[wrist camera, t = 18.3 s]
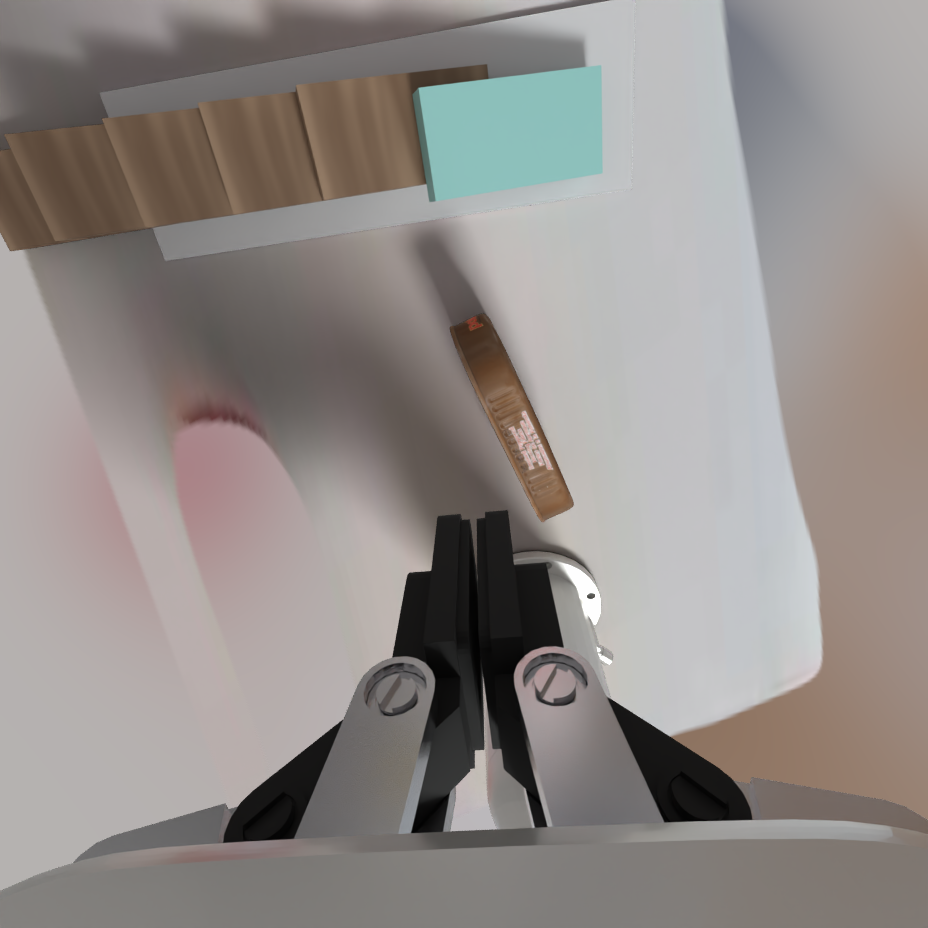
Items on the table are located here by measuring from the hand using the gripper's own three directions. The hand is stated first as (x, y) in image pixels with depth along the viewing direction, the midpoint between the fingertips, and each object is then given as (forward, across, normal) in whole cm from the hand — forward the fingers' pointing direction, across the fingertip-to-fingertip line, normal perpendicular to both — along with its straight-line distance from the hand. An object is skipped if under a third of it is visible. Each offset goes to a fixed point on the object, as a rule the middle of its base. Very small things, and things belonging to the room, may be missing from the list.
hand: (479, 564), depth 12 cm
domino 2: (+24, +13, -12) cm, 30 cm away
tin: (+26, -2, +5) cm, 27 cm away
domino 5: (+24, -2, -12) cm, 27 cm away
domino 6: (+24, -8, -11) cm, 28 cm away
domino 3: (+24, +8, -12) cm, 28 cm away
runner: (+25, +5, -12) cm, 28 cm away
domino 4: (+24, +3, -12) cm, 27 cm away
